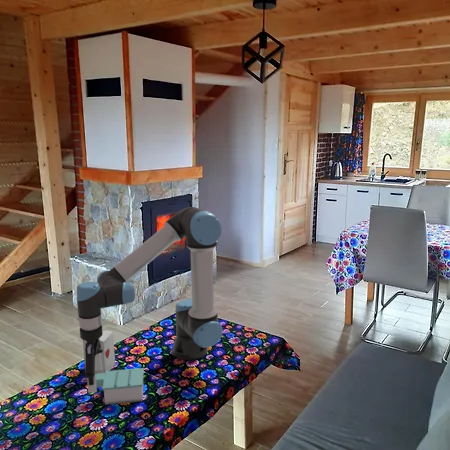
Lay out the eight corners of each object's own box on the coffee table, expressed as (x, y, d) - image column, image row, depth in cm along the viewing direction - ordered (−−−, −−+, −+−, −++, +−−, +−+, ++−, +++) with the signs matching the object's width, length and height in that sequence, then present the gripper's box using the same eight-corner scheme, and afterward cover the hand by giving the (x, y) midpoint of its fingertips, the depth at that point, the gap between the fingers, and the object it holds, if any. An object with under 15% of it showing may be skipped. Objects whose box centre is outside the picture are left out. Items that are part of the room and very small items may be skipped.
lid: (143, 372, 160) (143, 364, 159) (142, 389, 149) (142, 381, 149) (92, 376, 157) (92, 369, 156) (88, 394, 147) (87, 386, 146)
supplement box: (105, 376, 166) (103, 341, 163) (84, 373, 168) (81, 339, 165) (116, 364, 175) (113, 330, 172) (96, 361, 177) (93, 328, 173)
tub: (143, 384, 160) (142, 370, 159) (142, 401, 151) (141, 386, 150) (108, 388, 159) (107, 373, 157) (105, 404, 149) (103, 389, 148)
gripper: (85, 311, 159) (89, 362, 163) (72, 344, 134) (78, 403, 139) (106, 310, 160) (109, 361, 164) (96, 342, 136) (101, 400, 140)
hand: (95, 380), depth 152 cm, fingers open, 13 cm apart
